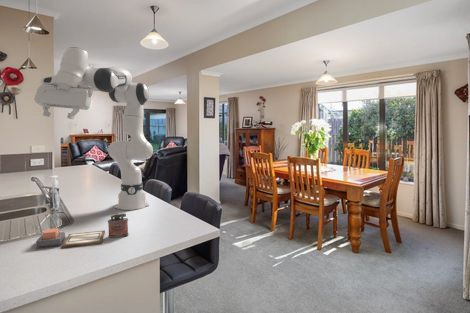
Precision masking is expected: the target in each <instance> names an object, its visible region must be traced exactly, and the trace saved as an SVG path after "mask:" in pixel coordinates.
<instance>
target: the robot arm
mask: <svg viewBox="0 0 470 313" xmlns="http://www.w3.org/2000/svg"><path fill="white" fill-rule="evenodd" d="M88 61H89V53H88V52H87V51H86V50H85V49H83V48H81V47H77V46H76V47H75V46H71V47H68V48H66V50H65V51H64V53H63V54H62V57H61V61H60V64H59V66H60V67H59V70H58V71H57V73H56V74H54V75H51V76H47V77H42V78H41V80H40V83H41V84H40V85H39V86H38V88H37V89H36V92H35V95H34V101H35V103H36V104H38V106H41V107H42V110H43V113H42V116H44V117H46V118H50V116H51V112H50V111H49V110H50V108H51V107H52V108H64V109H72V110H71V112H68V113H67V115H66V116H67V117H66V118H67V119H68V120H74V118H75V116H76V115H77V114H78V113H79V112H80V110H84V111H87V110H89V109H90V108H91V103H92V96H93V94H94V93H93V92H102V93H103V92H104V93H108V95H109V96H108V97H109V98H110V99H111V101H112V102H115V103H125V104H126V105H125V108H124V112H123V121H122V130H123V132H124V133H125V134H126V135H128V136H130V140H118V141H117V140H116V141H113V142H110V144H109V145H108V148H107V151H108V152H107V153H108V155H109V157H110V158H112V159H113V160H114V161H115V162H116V163H117V165H118V167H119V170H120V176H121V184H120V190H121V191H120V192H119V193H118V196H117V197H118V203H117V204H116V205H115V206H114V207H115V209H118V210H123V211H124V210H125V211H133V210H134V211H135V210H140V209H143V208H146V207H149V206H150V203H149V202H148V201H147V199H146V192H145V190H143V187H144V186H143V181H142V179H143V178H142V176H143V175H142V169H141V168H140V167H139V166H137V165H135V164H134V162H133V161H143V160H148V159H151V158H152V156H153V154H154V148H153V145H152V143H150V141H148V140H147V138H146V137H145V134H144V119H145V118H144V117H145V116H144V115H145V109H144V105H145V103H147V101H148V100H149V97H150V91H149V88H148V85H146V84H145V83H141V82H138V83H137V82H133V76H132V73H131V72H130V71H129V70H127V69H125V68H123V67H118V66H109V67H91V66H90V64H89V62H88Z"/></svg>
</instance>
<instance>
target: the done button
mask: <svg viewBox="0 0 470 313" xmlns="http://www.w3.org/2000/svg"><path fill="white" fill-rule="evenodd" d="M59 232H60V231H59V227H58V228H47V229H45V230H44V231H42V234H43V239H53V238H57V237H58V236H59Z"/></svg>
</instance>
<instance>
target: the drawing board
mask: <svg viewBox="0 0 470 313" xmlns="http://www.w3.org/2000/svg"><path fill="white" fill-rule="evenodd" d="M105 233H106V230H98V231H87V232H76V233H69V234H68V235H67V236H66V237H65V240H64V241H63V243H62V244H61V249H70V248H77V247H78V248H79V247H87V246H95V245H102V244H103V241H104V236H105V235H106V234H105Z"/></svg>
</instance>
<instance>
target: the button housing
mask: <svg viewBox="0 0 470 313" xmlns="http://www.w3.org/2000/svg"><path fill="white" fill-rule="evenodd" d="M65 240H66V232H65V231H62V232H61V231H59V236H58V237H57V238H53V239H43V233H41V235H40V236H39V237H38V239H37V240H36V241H35V248H36V250H38V249H39V250H41V249H48V248H58V247H62V244H63V243H64V241H65Z"/></svg>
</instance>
